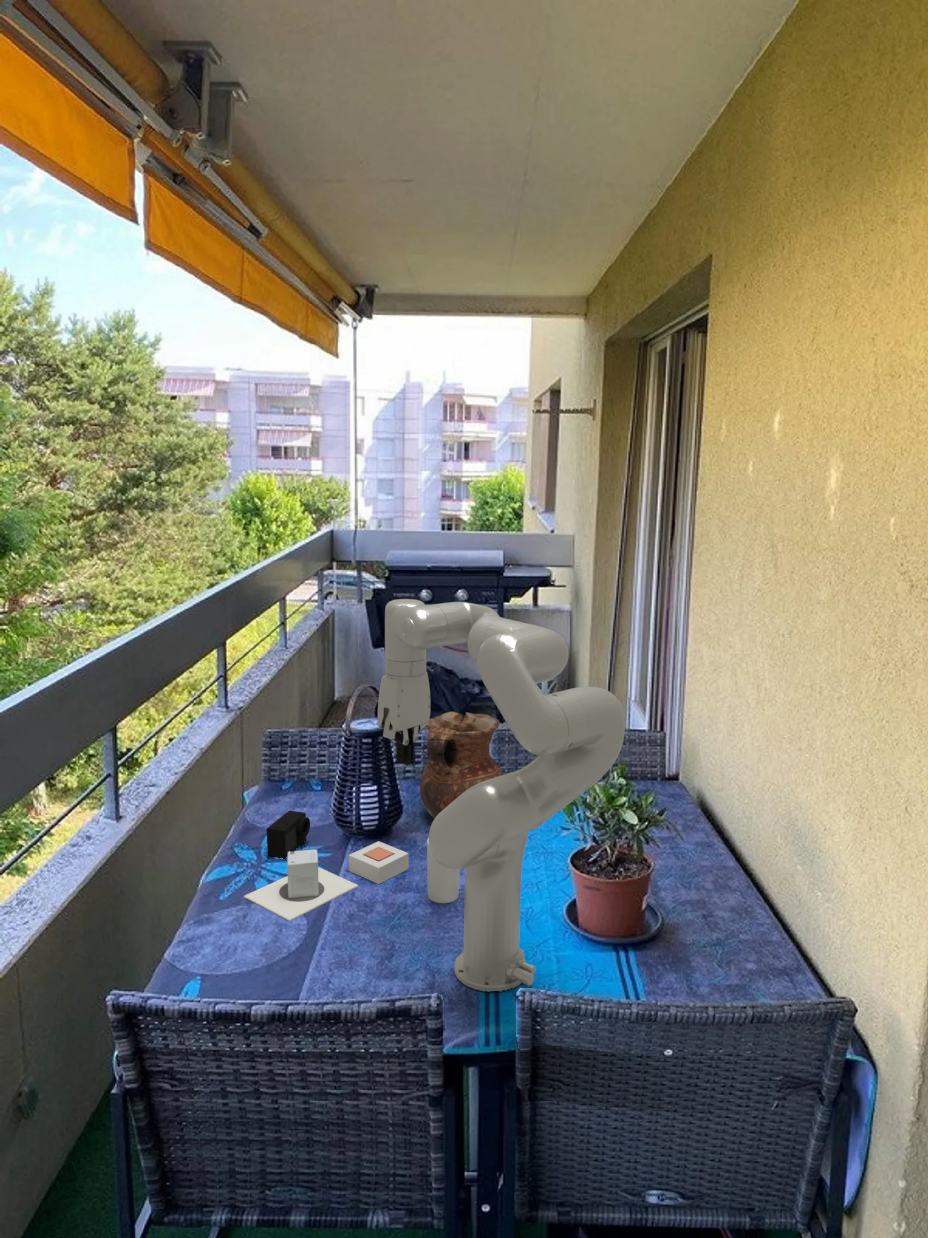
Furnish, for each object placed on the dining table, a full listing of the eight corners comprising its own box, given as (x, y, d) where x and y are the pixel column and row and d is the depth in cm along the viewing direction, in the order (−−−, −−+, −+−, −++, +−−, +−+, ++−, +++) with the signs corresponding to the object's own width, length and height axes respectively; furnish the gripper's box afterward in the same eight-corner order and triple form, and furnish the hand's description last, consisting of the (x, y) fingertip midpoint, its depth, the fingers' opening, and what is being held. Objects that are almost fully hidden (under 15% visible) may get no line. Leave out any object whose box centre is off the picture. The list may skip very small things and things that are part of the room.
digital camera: (289, 861, 192) (288, 831, 191) (267, 857, 193) (266, 828, 192) (311, 841, 202) (310, 813, 200) (289, 838, 203) (289, 809, 202)
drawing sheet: (358, 886, 181) (358, 884, 181) (289, 921, 167) (289, 919, 167) (312, 865, 190) (312, 864, 190) (244, 897, 176) (243, 895, 176)
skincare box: (319, 896, 176) (318, 862, 175) (288, 899, 175) (287, 864, 174) (318, 882, 182) (317, 848, 181) (288, 884, 181) (287, 851, 179)
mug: (455, 906, 174) (456, 849, 172) (422, 902, 175) (423, 845, 173) (466, 882, 184) (467, 828, 181) (435, 878, 185) (436, 825, 183)
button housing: (408, 869, 189) (408, 853, 188) (378, 884, 182) (378, 868, 182) (378, 856, 195) (378, 841, 194) (348, 870, 188) (348, 855, 187)
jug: (428, 797, 228) (429, 704, 224) (508, 803, 226) (511, 709, 221) (411, 833, 207) (411, 731, 202) (500, 840, 204) (502, 736, 199)
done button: (393, 863, 189) (393, 853, 188) (378, 871, 185) (378, 860, 185) (378, 857, 191) (378, 847, 191) (364, 864, 188) (364, 854, 187)
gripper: (418, 657, 169) (417, 748, 173) (361, 671, 158) (362, 768, 161) (447, 663, 165) (446, 757, 168) (392, 678, 153) (392, 778, 157)
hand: (405, 762), depth 165 cm, fingers closed
